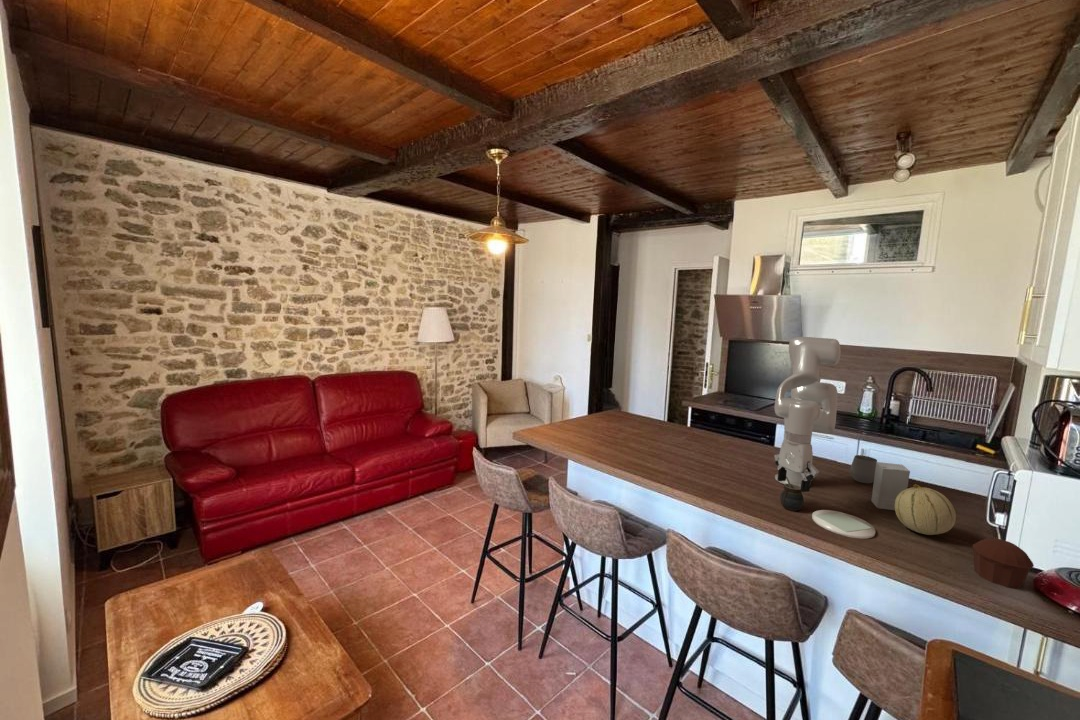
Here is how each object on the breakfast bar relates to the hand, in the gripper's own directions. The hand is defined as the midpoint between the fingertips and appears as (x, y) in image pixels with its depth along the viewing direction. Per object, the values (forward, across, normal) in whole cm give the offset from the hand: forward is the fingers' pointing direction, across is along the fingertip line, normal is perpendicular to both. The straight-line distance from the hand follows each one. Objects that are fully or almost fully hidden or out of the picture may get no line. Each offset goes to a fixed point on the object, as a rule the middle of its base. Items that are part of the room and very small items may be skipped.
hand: (792, 485), depth 152 cm
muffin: (+9, +45, +23) cm, 51 cm away
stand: (+8, +13, +8) cm, 18 cm away
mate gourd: (+8, -1, +1) cm, 9 cm away
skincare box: (+8, +6, +38) cm, 39 cm away
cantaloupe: (+8, +22, +30) cm, 38 cm away
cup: (+7, -15, +54) cm, 56 cm away
